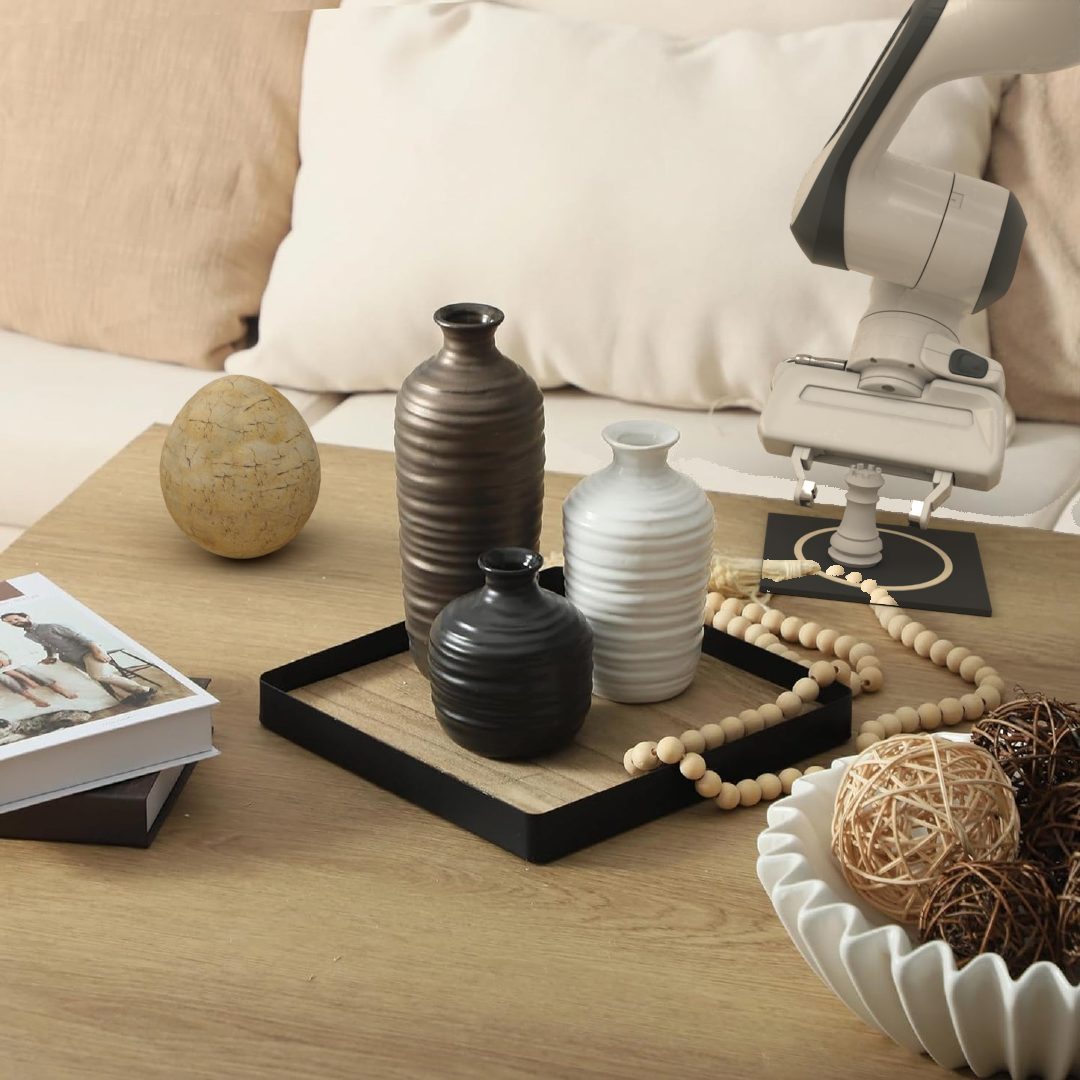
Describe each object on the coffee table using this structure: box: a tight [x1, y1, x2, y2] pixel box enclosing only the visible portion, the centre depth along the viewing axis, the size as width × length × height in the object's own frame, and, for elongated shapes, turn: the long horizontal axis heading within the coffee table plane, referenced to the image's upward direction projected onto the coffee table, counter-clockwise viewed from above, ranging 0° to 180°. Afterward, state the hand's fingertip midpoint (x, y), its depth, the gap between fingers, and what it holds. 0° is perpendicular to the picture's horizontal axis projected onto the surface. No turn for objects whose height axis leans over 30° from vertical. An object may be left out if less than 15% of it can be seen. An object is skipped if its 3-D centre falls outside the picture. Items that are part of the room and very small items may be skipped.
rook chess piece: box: [828, 463, 886, 568], centre depth 121 cm, size 4×4×8 cm
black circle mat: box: [758, 512, 993, 618], centre depth 123 cm, size 18×16×1 cm
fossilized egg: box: [159, 374, 322, 560], centre depth 118 cm, size 13×13×15 cm
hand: (858, 514), depth 120 cm, fingers open, 8 cm apart
